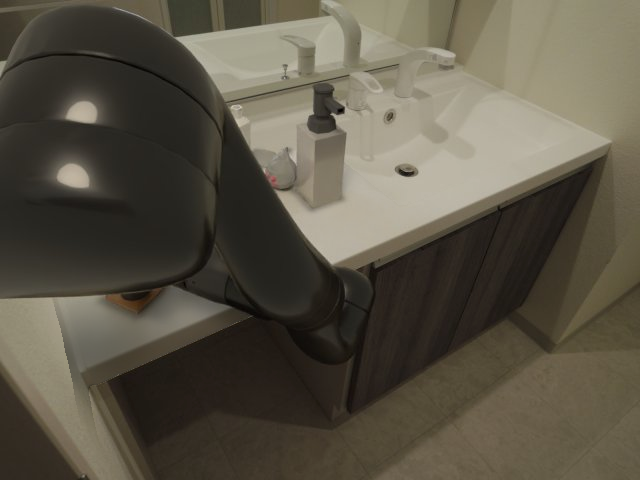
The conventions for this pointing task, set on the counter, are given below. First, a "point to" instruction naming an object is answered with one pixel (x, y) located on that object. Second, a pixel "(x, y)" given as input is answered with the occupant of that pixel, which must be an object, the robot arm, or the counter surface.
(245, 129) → the perfume bottle
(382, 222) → the counter surface
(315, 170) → the soap dispenser
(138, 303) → the coaster
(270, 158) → the eyeglasses
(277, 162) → the figurine
